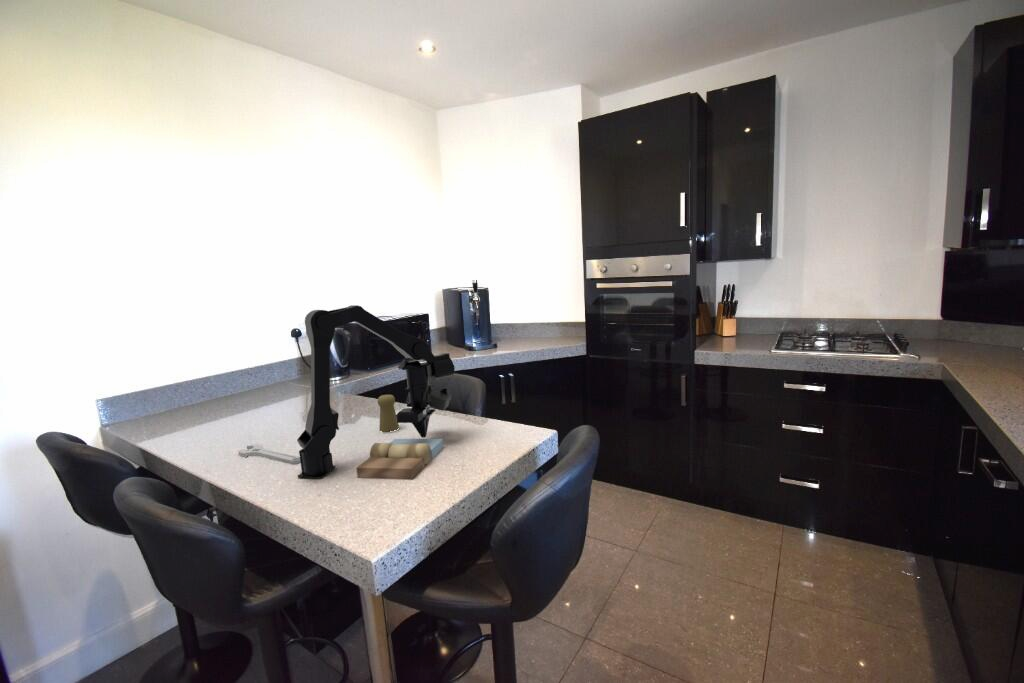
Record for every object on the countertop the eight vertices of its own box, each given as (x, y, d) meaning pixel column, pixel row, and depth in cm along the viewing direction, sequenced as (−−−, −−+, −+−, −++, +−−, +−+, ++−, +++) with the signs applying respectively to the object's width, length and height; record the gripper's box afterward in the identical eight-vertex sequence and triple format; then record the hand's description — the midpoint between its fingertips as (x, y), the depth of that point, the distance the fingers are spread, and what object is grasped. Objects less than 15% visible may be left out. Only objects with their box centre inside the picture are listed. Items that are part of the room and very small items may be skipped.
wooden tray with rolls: (357, 477, 107) (355, 457, 107) (380, 458, 118) (378, 440, 118) (412, 479, 104) (410, 458, 104) (431, 459, 115) (429, 440, 115)
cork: (384, 434, 138) (380, 399, 136) (376, 430, 143) (372, 396, 141) (402, 429, 142) (399, 394, 140) (394, 425, 146) (390, 391, 145)
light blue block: (372, 466, 114) (370, 447, 113) (396, 447, 126) (394, 430, 126) (424, 467, 111) (422, 448, 110) (443, 447, 123) (442, 430, 123)
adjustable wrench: (305, 463, 120) (304, 457, 120) (281, 472, 115) (280, 466, 115) (257, 448, 134) (256, 442, 134) (234, 455, 129) (233, 450, 129)
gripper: (432, 391, 115) (438, 450, 117) (456, 374, 133) (461, 426, 135) (392, 392, 117) (398, 449, 119) (421, 375, 135) (426, 426, 137)
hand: (423, 437), depth 128 cm, fingers closed
